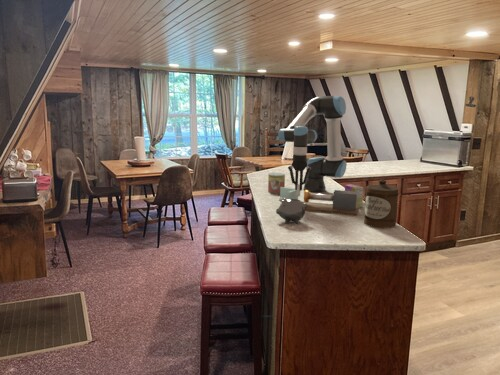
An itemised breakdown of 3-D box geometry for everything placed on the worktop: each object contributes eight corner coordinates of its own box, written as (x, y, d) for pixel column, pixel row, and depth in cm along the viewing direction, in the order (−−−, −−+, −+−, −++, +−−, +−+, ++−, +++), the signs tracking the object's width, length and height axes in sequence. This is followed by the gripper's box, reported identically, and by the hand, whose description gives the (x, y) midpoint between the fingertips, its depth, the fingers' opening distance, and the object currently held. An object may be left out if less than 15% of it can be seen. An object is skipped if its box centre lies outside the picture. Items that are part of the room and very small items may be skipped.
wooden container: (357, 223, 188) (360, 179, 184) (372, 218, 198) (376, 176, 194) (386, 230, 177) (390, 183, 173) (401, 224, 188) (405, 179, 184)
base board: (294, 203, 229) (294, 201, 228) (357, 208, 218) (358, 206, 218) (289, 209, 214) (289, 207, 213) (356, 215, 203) (357, 212, 203)
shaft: (305, 200, 222) (306, 188, 221) (343, 203, 216) (343, 191, 214) (303, 203, 215) (304, 191, 214) (342, 206, 209) (343, 193, 208)
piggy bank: (276, 218, 195) (277, 196, 193) (306, 220, 193) (307, 197, 191) (275, 224, 184) (275, 200, 182) (306, 226, 182) (308, 202, 180)
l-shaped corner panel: (280, 198, 244) (281, 186, 243) (297, 201, 238) (298, 189, 237) (271, 202, 234) (271, 189, 233) (289, 204, 228) (289, 192, 227)
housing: (333, 205, 218) (334, 190, 217) (355, 207, 215) (357, 191, 213) (332, 209, 210) (333, 192, 209) (355, 210, 207) (356, 194, 205)
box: (343, 204, 230) (344, 184, 227) (351, 203, 232) (353, 184, 229) (354, 208, 220) (355, 187, 218) (362, 207, 222) (364, 187, 220)
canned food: (266, 192, 260) (266, 175, 258) (269, 189, 271) (270, 172, 269) (283, 193, 258) (283, 175, 255) (285, 190, 268) (286, 173, 266)
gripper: (287, 154, 213) (285, 196, 217) (310, 155, 209) (308, 198, 214) (289, 153, 220) (288, 193, 225) (312, 154, 216) (310, 195, 221)
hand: (298, 196), depth 219 cm, fingers closed
